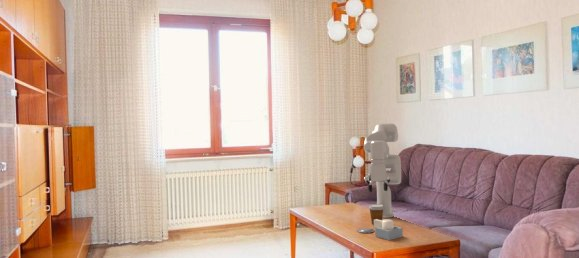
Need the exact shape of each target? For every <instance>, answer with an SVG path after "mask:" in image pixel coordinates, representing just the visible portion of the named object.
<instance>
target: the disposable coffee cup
mask: <svg viewBox="0 0 579 258" xmlns="http://www.w3.org/2000/svg"><path fill="white" fill-rule="evenodd" d="M368 209H369V213H370V221H371V224H372V225H373V226H374V220H375V219H378V220H383V218H382V216H383V209H384V207H383V205H381V204H377V203H374V204H369V206H368Z"/></svg>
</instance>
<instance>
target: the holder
mask: <svg viewBox="0 0 579 258" xmlns="http://www.w3.org/2000/svg"><path fill="white" fill-rule="evenodd" d="M374 232H375V237H377V238H380V239H384V240H387V241H391V240H394V239H398V238H402V237H404V236H403V234H404V233H403V227H400V226H397V225H394V229H392V230H385V229H381V228H375V229H374Z"/></svg>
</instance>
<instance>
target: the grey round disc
mask: <svg viewBox="0 0 579 258" xmlns="http://www.w3.org/2000/svg"><path fill="white" fill-rule="evenodd" d="M356 232H357V233H359V234H372V233H374V232H375V229H374V228H368V227H367V228H366V227H361V228H357V230H356Z"/></svg>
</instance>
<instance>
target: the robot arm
mask: <svg viewBox="0 0 579 258" xmlns="http://www.w3.org/2000/svg"><path fill="white" fill-rule="evenodd" d="M398 140H399V132H398V127H397V126H396V124H395V123H378V124H376V125H375V126H374V130H373V131H372V133H371V134H369V135H367V136H366V137H365V139H364V143H363V150H364V152H365V153H366V154H370V164H369V165H368V173H367V174H368V175H366V176H364V177H363V180H364V182H365V183H366V185H368V186H367V188H368V192H370V193H371V192H373V185H372V184H373V183H375V185H376V204H381V205H383V207H384V209H383V216H382V219H390V218H393V217H394V216H395V214H394V212H397V209H396V208H392V192H391V189H390V186H389V185H400V184H401V183H402V162H401V161H402V160H401V157H400V155H399V154H398V155H397V154H390V146H389V144H388V143H395V142H397V141H398ZM387 169H388V170H387ZM389 169H392V170H389Z"/></svg>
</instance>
